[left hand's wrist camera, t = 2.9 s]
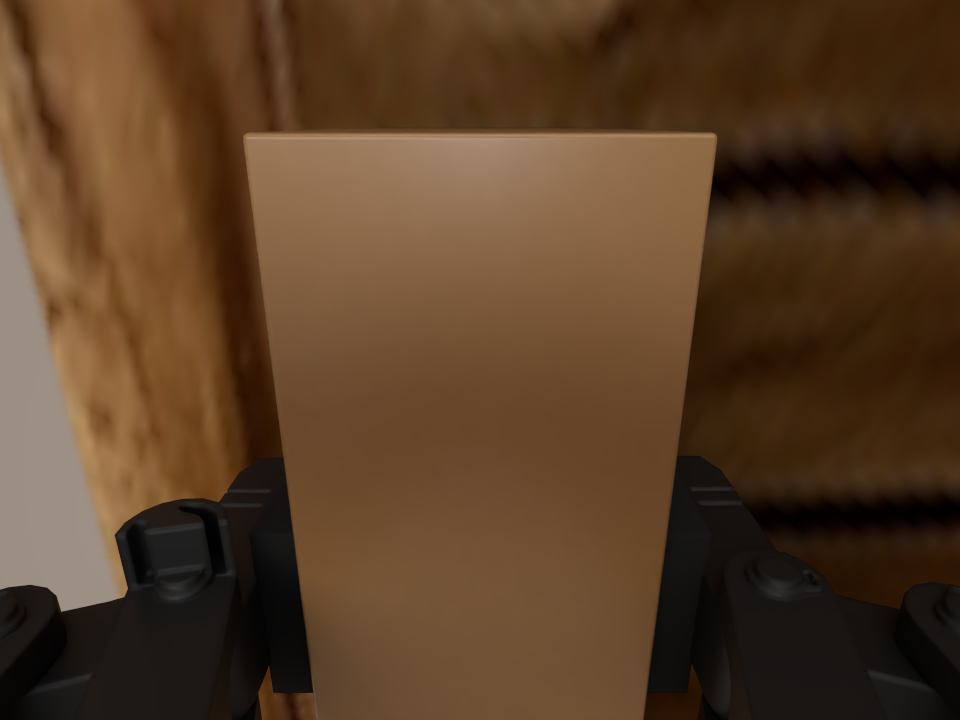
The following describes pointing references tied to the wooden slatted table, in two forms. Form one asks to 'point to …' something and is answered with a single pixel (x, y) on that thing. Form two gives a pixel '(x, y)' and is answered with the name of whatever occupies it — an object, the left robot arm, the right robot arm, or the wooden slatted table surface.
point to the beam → (480, 406)
